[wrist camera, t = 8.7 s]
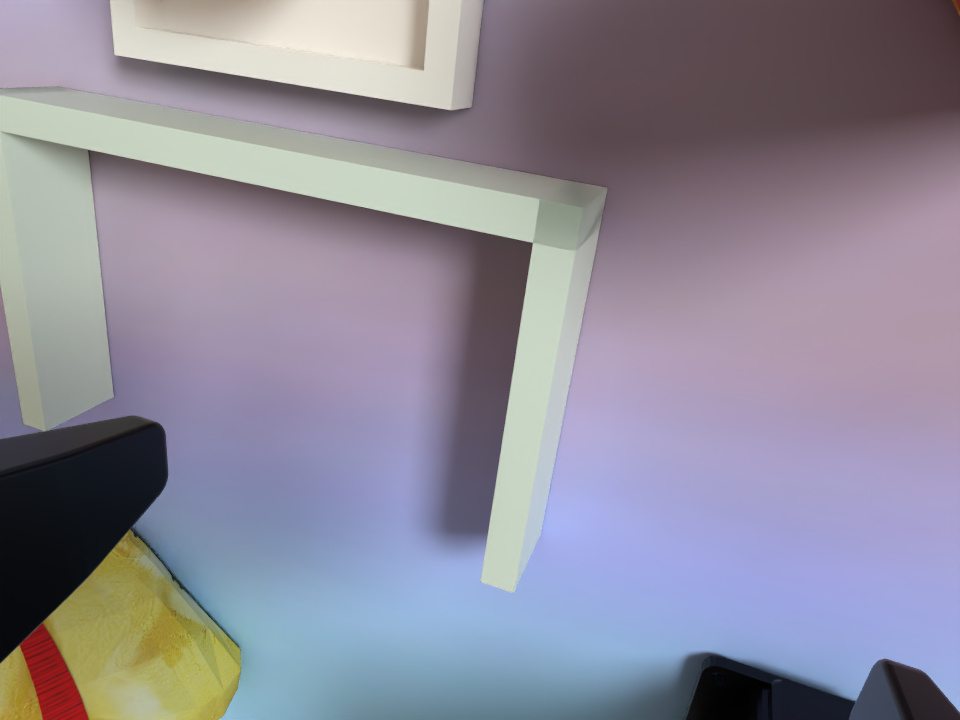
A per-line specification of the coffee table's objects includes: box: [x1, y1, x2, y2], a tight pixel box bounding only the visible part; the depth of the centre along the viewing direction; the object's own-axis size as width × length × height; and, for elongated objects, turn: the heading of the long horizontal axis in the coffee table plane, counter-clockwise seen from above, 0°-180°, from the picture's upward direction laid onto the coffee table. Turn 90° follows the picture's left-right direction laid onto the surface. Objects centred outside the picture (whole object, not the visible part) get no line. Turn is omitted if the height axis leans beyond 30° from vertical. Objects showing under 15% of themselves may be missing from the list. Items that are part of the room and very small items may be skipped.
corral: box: [0, 87, 608, 593], centre depth 22 cm, size 11×18×3 cm, turn 82°
